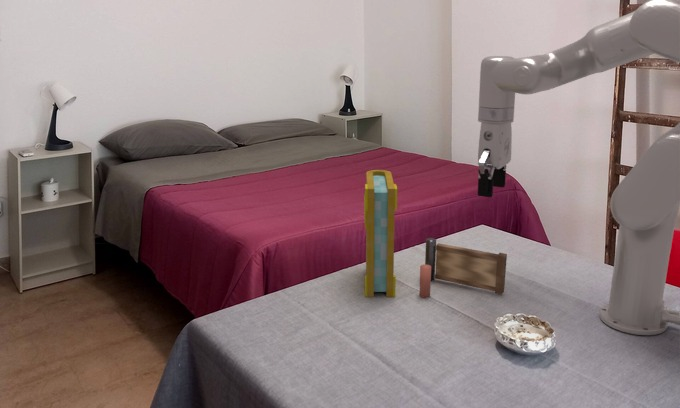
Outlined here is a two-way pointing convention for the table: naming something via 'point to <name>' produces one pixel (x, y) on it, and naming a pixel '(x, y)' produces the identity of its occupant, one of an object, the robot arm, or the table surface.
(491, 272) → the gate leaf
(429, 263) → the gate post
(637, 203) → the robot arm
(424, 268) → the post
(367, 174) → the book
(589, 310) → the table surface
